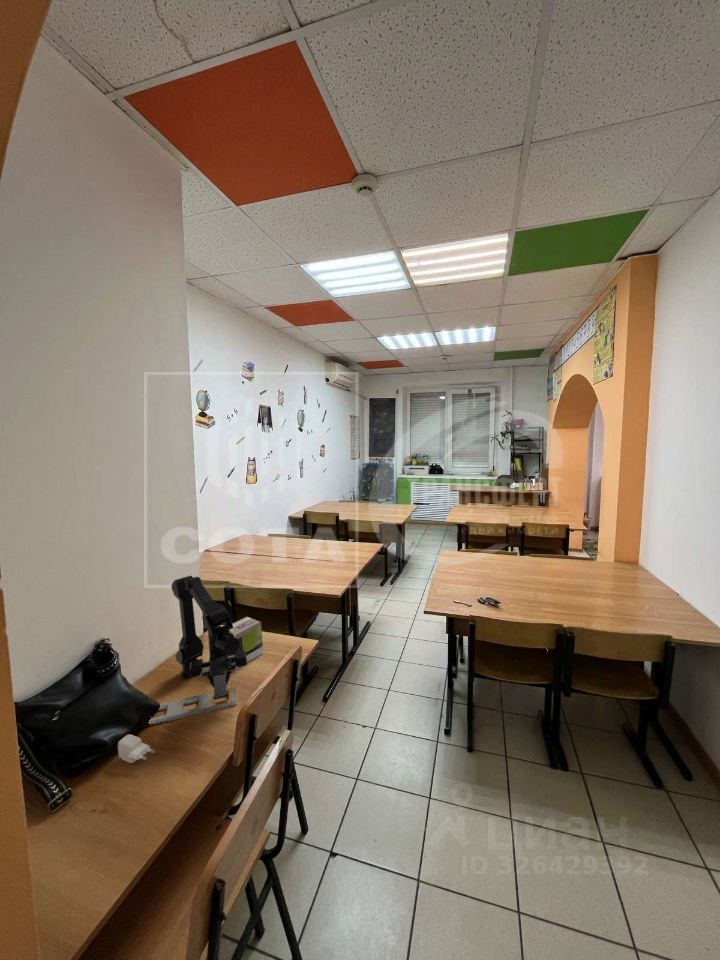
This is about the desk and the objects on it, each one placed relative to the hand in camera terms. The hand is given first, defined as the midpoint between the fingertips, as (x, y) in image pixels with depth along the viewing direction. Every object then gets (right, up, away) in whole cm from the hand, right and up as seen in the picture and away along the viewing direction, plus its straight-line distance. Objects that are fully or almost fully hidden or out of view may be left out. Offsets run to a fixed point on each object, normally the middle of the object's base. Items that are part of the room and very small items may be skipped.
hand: (220, 685), depth 135 cm
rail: (-9, -7, -3) cm, 12 cm away
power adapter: (-16, -9, -24) cm, 30 cm away
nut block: (0, -2, 0) cm, 2 cm away
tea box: (-1, -3, +27) cm, 27 cm away
